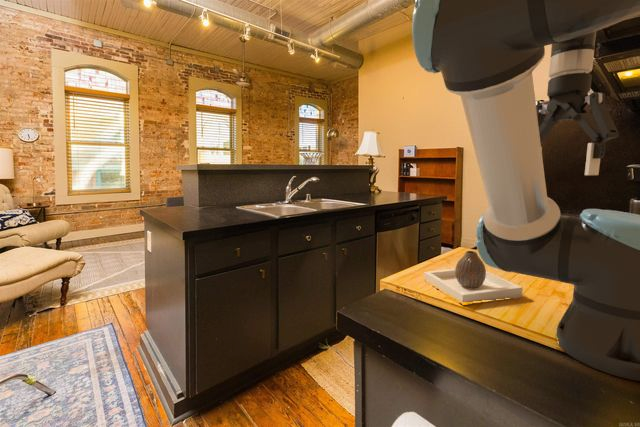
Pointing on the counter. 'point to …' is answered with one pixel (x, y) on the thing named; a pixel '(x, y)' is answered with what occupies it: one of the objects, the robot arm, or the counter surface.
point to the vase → (470, 271)
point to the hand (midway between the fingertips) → (560, 174)
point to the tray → (487, 291)
